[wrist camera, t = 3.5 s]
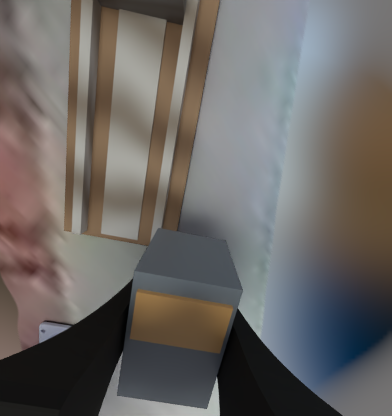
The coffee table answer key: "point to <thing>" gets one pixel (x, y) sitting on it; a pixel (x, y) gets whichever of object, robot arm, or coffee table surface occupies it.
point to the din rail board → (133, 112)
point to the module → (179, 319)
